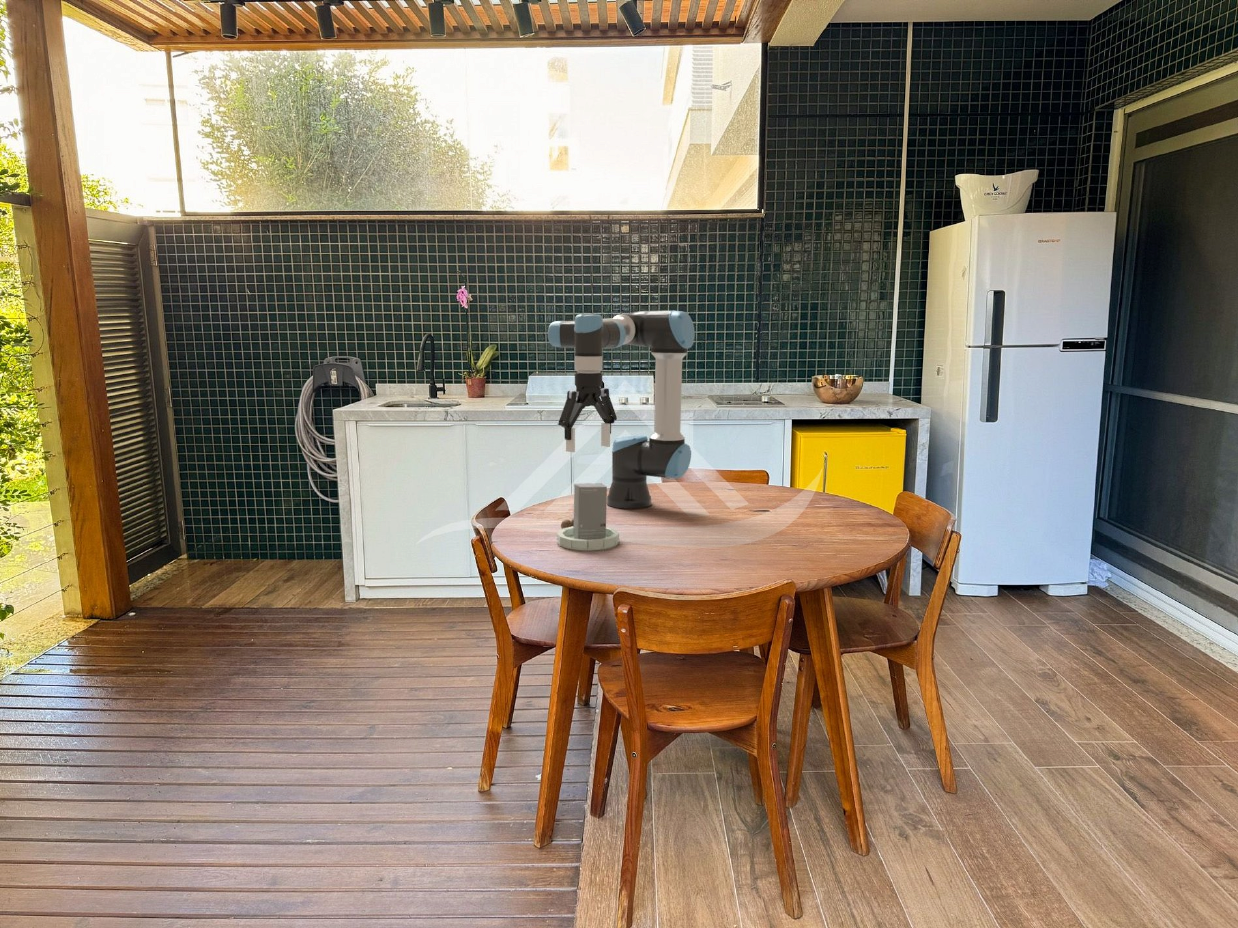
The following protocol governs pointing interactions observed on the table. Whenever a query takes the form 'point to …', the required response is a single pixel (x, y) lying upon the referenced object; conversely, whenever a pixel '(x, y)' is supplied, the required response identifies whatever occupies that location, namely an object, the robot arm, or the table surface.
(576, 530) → the skincare box
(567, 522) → the bead
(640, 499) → the robot arm
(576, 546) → the tray
